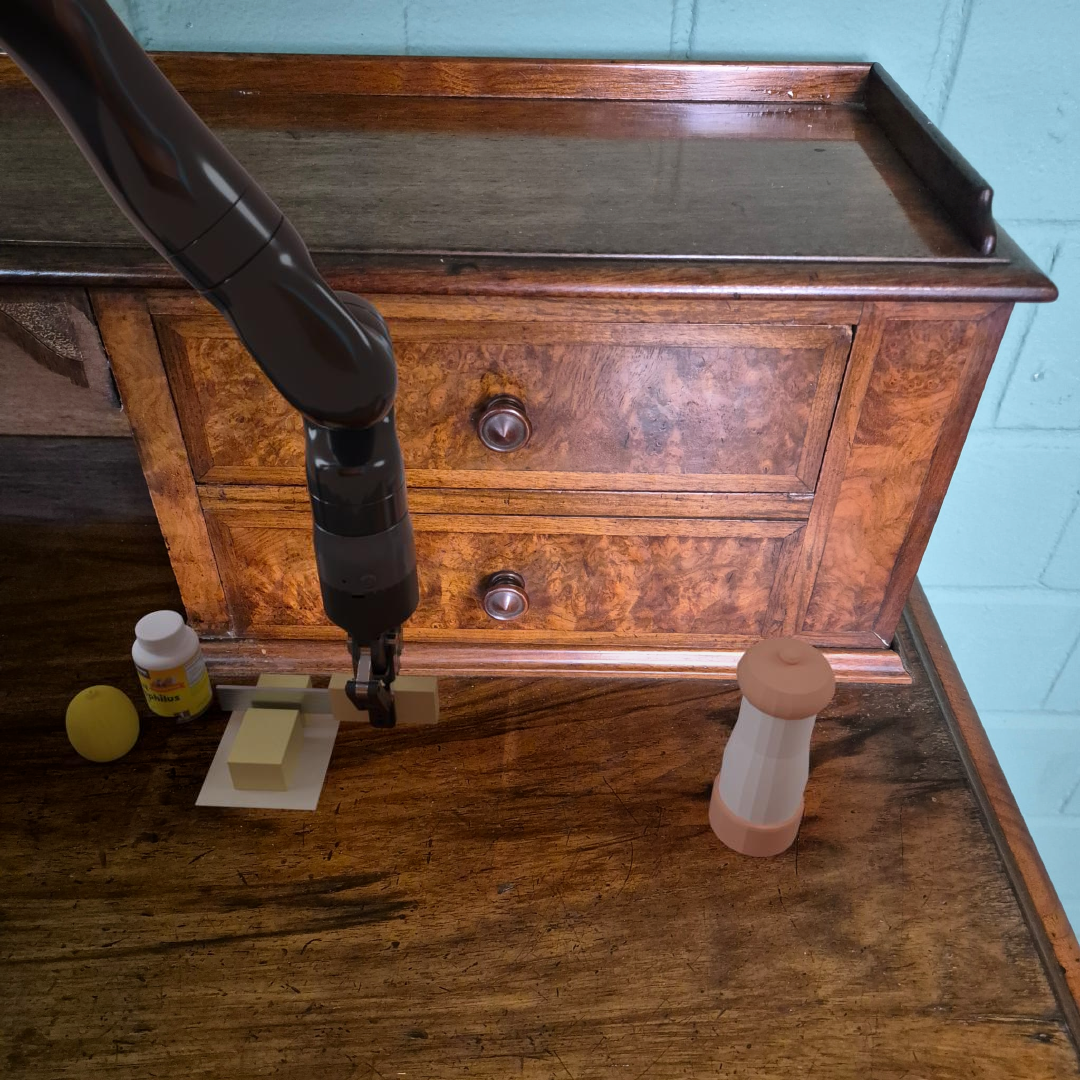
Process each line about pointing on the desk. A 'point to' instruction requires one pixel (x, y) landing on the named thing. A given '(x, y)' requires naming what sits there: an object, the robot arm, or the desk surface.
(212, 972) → the desk surface
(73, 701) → the lemon
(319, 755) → the butter dish
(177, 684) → the supplement bottle
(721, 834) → the pepper shaker
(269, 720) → the butter block
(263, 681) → the butter slice
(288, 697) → the knife
